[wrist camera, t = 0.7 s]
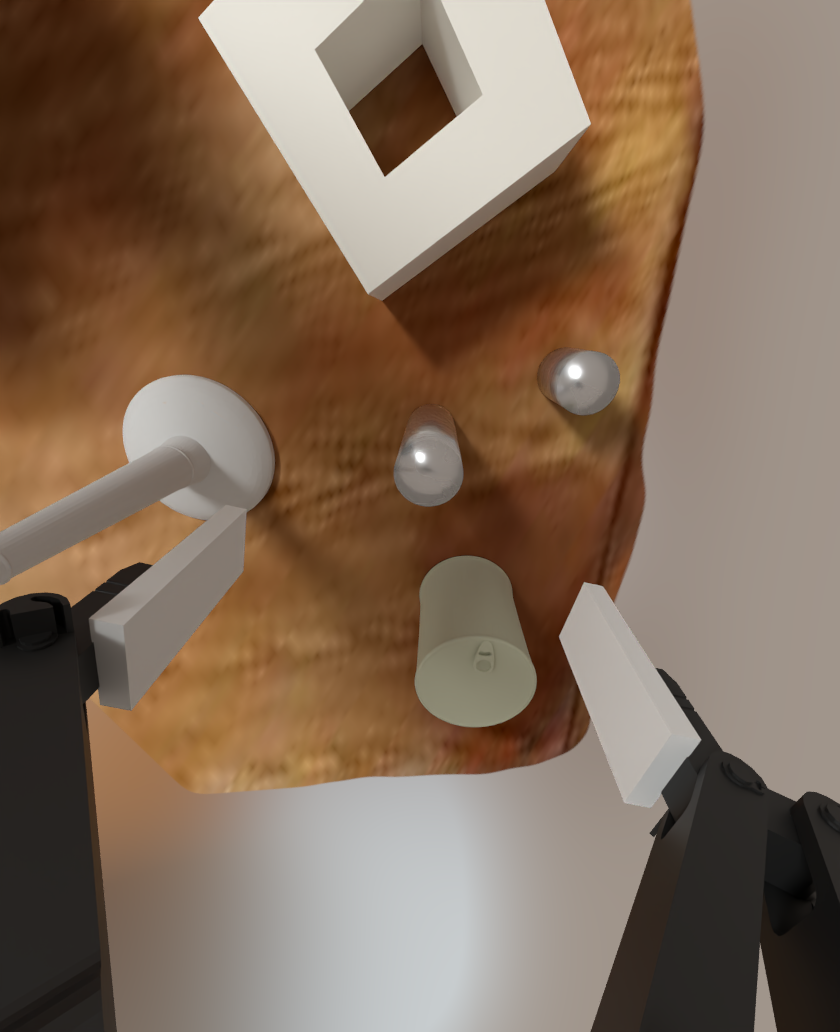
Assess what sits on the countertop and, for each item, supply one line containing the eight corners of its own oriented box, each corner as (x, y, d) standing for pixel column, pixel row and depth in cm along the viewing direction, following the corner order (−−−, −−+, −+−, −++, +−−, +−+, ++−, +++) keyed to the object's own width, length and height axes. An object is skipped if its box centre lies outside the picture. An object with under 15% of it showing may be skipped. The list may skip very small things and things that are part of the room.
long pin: (397, 420, 35) (380, 463, 24) (438, 394, 34) (439, 426, 23) (423, 460, 36) (418, 517, 25) (463, 435, 35) (476, 484, 24)
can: (521, 561, 40) (554, 650, 29) (501, 637, 44) (522, 740, 33) (426, 548, 40) (422, 633, 29) (413, 625, 43) (406, 725, 32)
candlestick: (180, 339, 33) (-1133, 399, 5) (304, 455, 36) (-101, 848, 9) (100, 447, 37) (-888, 802, 9) (219, 543, 40) (-242, 1001, 13)
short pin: (528, 366, 33) (546, 374, 27) (575, 336, 32) (605, 338, 26) (550, 410, 34) (572, 426, 28) (597, 382, 33) (629, 394, 27)
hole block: (255, 92, 26) (198, 17, 20) (444, -96, 23) (447, -259, 16) (382, 300, 31) (367, 294, 25) (555, 171, 27) (590, 123, 21)
